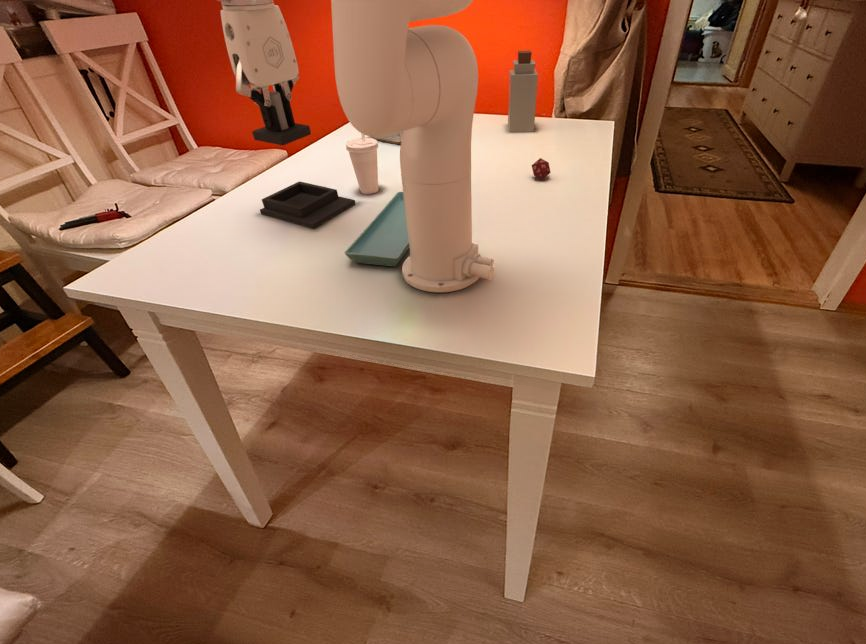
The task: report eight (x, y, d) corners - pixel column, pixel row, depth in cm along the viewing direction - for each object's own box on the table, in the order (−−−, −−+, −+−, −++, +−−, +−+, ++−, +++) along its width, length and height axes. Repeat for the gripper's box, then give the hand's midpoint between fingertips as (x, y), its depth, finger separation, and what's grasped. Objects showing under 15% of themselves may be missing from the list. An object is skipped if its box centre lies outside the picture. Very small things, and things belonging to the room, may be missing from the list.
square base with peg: (311, 134, 84) (301, 90, 79) (282, 145, 79) (270, 100, 75) (283, 129, 86) (272, 87, 82) (254, 140, 82) (240, 95, 77)
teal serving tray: (399, 200, 93) (397, 188, 92) (442, 204, 92) (441, 192, 90) (345, 266, 75) (342, 252, 73) (399, 272, 73) (397, 258, 71)
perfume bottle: (533, 131, 126) (539, 53, 114) (509, 132, 126) (512, 54, 114) (531, 124, 131) (536, 49, 119) (507, 125, 131) (510, 49, 119)
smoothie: (378, 197, 95) (367, 124, 86) (349, 195, 96) (335, 123, 87) (388, 185, 100) (378, 114, 90) (360, 183, 101) (348, 113, 91)
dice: (535, 183, 99) (536, 163, 96) (528, 175, 102) (530, 156, 99) (551, 181, 99) (553, 162, 97) (545, 173, 103) (546, 155, 100)
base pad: (355, 204, 93) (353, 191, 91) (314, 229, 85) (310, 214, 83) (304, 192, 98) (301, 179, 96) (261, 214, 90) (256, 200, 88)
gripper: (218, 2, 63) (260, 144, 75) (302, -8, 73) (327, 118, 86) (182, 0, 66) (229, 137, 78) (268, -9, 76) (298, 113, 88)
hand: (280, 126), depth 82 cm, fingers closed on square base with peg, 2 cm apart
